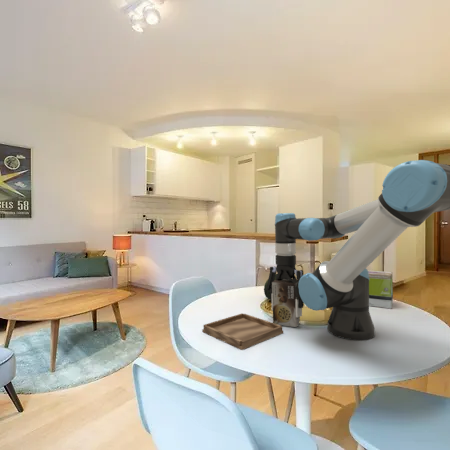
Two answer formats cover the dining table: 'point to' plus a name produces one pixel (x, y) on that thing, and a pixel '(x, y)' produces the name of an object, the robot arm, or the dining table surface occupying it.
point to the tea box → (380, 289)
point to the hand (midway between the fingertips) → (286, 313)
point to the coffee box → (284, 303)
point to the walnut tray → (242, 330)
